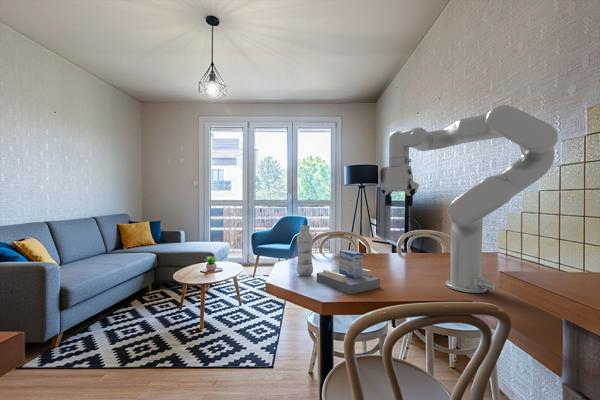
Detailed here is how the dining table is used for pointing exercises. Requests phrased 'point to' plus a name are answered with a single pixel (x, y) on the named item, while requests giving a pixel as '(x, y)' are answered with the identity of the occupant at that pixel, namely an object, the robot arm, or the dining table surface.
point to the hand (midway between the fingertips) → (398, 206)
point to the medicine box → (351, 263)
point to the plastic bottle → (304, 251)
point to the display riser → (348, 281)
